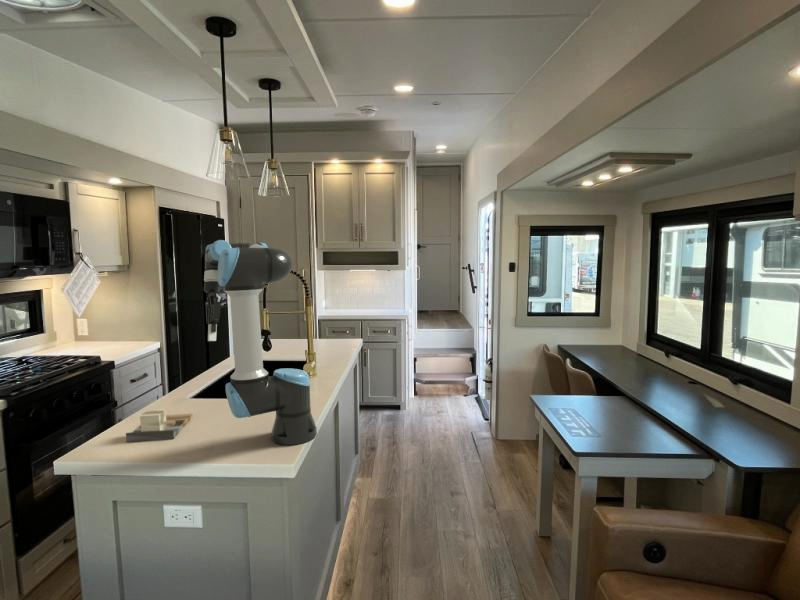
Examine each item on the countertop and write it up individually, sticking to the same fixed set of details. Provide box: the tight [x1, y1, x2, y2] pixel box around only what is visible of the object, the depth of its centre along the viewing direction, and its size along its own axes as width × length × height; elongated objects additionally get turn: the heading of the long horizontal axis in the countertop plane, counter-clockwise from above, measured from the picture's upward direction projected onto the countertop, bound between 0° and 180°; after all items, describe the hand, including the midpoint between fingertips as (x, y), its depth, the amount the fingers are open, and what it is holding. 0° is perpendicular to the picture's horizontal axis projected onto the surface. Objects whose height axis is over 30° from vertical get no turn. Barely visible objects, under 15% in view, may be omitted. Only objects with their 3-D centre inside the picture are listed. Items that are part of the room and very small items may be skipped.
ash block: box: [139, 408, 167, 432], centre depth 155 cm, size 6×6×7 cm
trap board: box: [125, 413, 194, 443], centre depth 161 cm, size 20×15×3 cm
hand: (212, 340), depth 175 cm, fingers closed
